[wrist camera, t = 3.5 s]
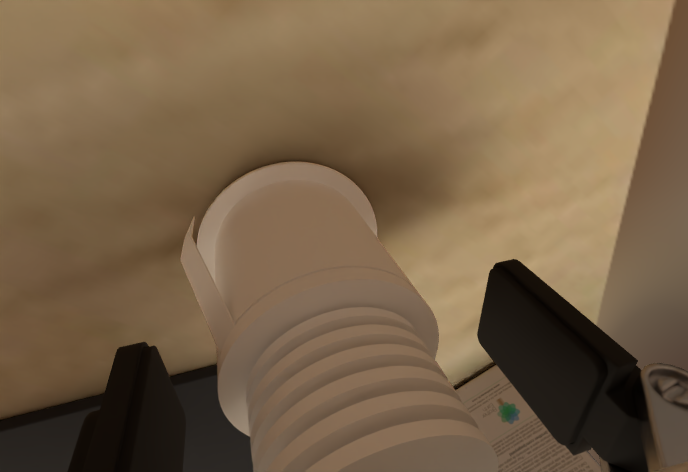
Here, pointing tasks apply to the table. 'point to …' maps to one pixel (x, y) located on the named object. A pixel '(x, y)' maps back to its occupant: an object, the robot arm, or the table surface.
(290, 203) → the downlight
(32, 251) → the table surface
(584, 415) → the robot arm
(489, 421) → the ink cartridge box
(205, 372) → the mat
